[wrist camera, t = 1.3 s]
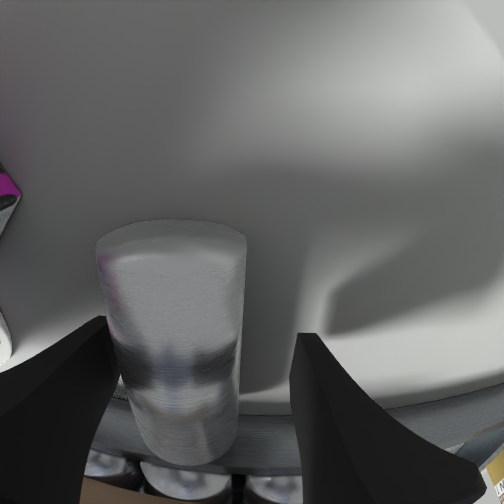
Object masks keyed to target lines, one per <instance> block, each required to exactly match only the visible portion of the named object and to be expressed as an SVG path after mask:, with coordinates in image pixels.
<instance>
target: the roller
mask: <svg viewBox="0 0 504 504" xmlns="http://www.w3.org/2000/svg"><path fill="white" fill-rule="evenodd" d="M95 256H96V263H97V270H98V276H99V282H100V288H101V293H102V298H103V303H104V308H105V313H106V318H107V322H108V327H109V331H110V335H111V340H112V344H113V348H114V351H115V355H116V359H117V363H118V366H119V370H120V373H121V377H122V380H123V383H124V387H125V390H126V393H127V396H128V399H129V402H130V405H131V408H132V411H133V414H134V417H135V419H136V422H137V425H138V428H139V430H140V433H141V436H142V438H143V440H144V442H145V444H146V445H147V447H148V448H149V449H150V450H151V451H152V452H153V453H154V454H155V455H156V456H158V457H160V458H161V459H163V460H165V461H167V462H170V463H173V464H178V465H186V466H193V465H201V464H205V463H209V462H211V461H214V460H216V459H217V458H219V457H221V456H222V455H223V454H225V453H226V452H227V451H228V450H229V448H230V447H231V446H232V444H233V442H234V440H235V437H236V433H237V418H238V399H239V380H240V362H241V344H242V326H243V308H244V291H245V274H246V257H247V240H246V238H245V237H244V236H243V234H241V233H240V232H239V231H237V230H235V229H234V228H231V227H229V226H226V225H223V224H220V223H216V222H211V221H204V220H183V219H156V220H148V221H142V222H137V223H133V224H129V225H125V226H122V227H120V228H117V229H115V230H112V231H111V232H109V233H107V234H105V235H104V236H103V237H101V238H100V239H99V240H98V242H97V243H96V246H95Z"/></svg>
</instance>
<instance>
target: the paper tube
mask: <svg viewBox="0 0 504 504" xmlns="http://www.w3.org/2000/svg"><path fill="white" fill-rule="evenodd" d="M486 469H487V471H488V473H489V476H490V478H491V480H492V482H493V485H494V487H495V490H496V492H497V494H498V497H501V498H500V502H501V504H504V449H503V450H502V452H501V453H500V454H499V455H498V456H497V457H496V458H495V459H494V460H493V461H492V462H491V463H490V464H489V465H488V466H487V467H486Z"/></svg>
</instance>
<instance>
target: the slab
mask: <svg viewBox="0 0 504 504" xmlns="http://www.w3.org/2000/svg"><path fill="white" fill-rule="evenodd" d="M79 504H202V503H194V502H187V501H180V500H174V499H168V498H162V497H157V496H152V495H148V494H143V493H139V492H135V491H130V490H127V489H123V488H119V487H115V486H112V485H109V484H105V483H102V482H99V481H96V480H93V479H90V478H87V477H83V482H82V489H81V496H80V503H79Z"/></svg>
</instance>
